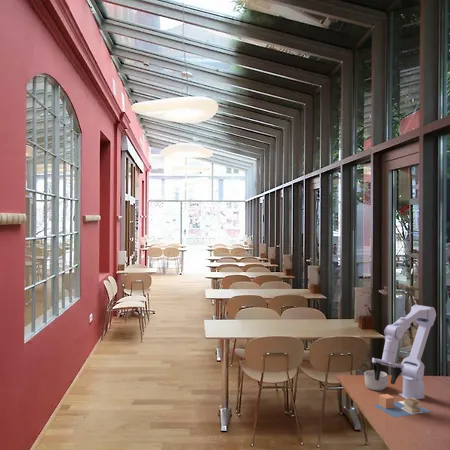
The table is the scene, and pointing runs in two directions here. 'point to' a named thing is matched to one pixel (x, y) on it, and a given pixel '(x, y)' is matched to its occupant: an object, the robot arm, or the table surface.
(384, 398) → the terracotta cube
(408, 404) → the maple cube
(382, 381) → the teacup
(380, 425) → the table surface
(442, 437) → the table surface
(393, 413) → the board
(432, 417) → the table surface
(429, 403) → the table surface
